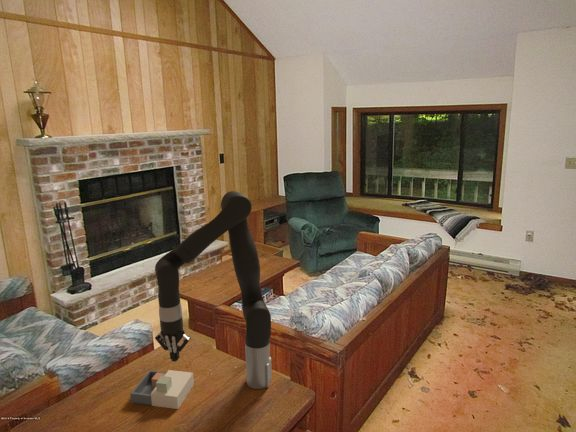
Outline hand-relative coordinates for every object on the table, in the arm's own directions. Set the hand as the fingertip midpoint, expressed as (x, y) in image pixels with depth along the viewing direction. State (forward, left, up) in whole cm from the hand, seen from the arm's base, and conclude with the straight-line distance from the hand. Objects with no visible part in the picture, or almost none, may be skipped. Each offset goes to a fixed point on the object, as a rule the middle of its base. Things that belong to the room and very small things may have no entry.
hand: (175, 360), depth 148 cm
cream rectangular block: (+3, -3, -17) cm, 17 cm away
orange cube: (+9, -6, -14) cm, 18 cm away
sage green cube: (+5, +1, -12) cm, 13 cm away
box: (+12, -3, -17) cm, 21 cm away
